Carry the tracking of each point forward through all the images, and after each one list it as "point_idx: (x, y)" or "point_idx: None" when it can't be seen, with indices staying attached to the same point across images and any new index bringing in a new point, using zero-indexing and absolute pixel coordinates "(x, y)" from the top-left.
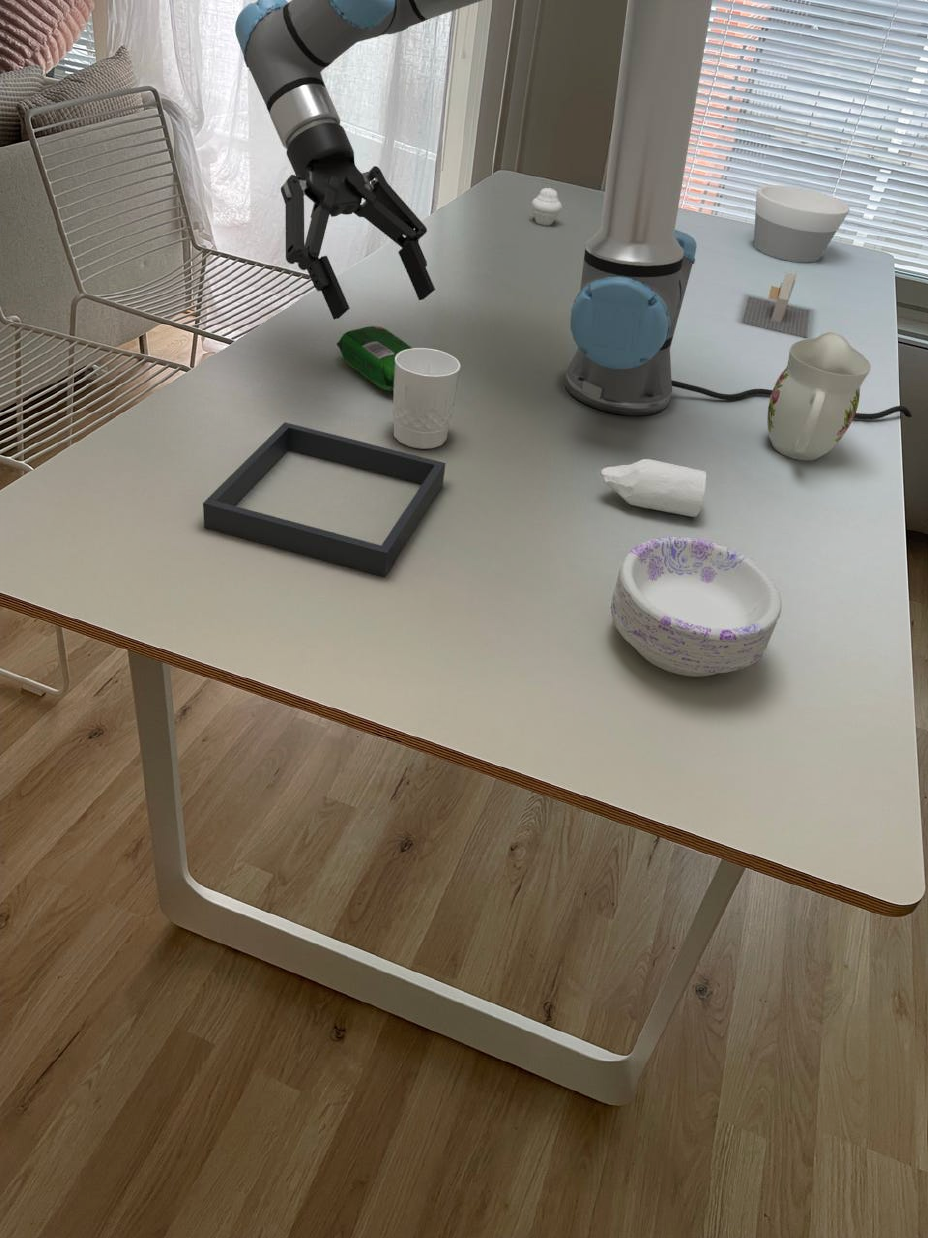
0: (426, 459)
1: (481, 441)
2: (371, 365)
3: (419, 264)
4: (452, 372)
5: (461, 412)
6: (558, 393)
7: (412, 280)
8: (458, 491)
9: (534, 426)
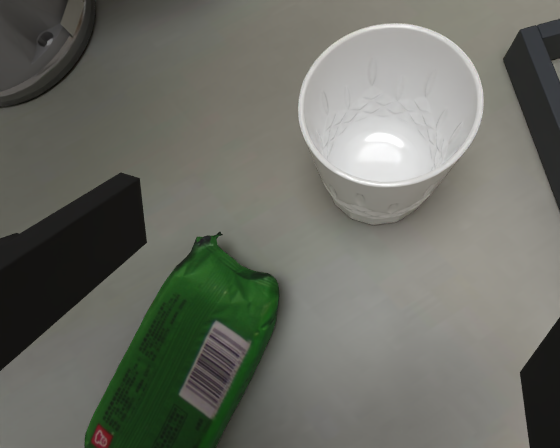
0: (538, 58)
1: None
2: (256, 362)
3: (56, 234)
4: (323, 86)
5: (241, 170)
6: (74, 89)
7: (97, 277)
8: (498, 33)
9: (208, 59)
